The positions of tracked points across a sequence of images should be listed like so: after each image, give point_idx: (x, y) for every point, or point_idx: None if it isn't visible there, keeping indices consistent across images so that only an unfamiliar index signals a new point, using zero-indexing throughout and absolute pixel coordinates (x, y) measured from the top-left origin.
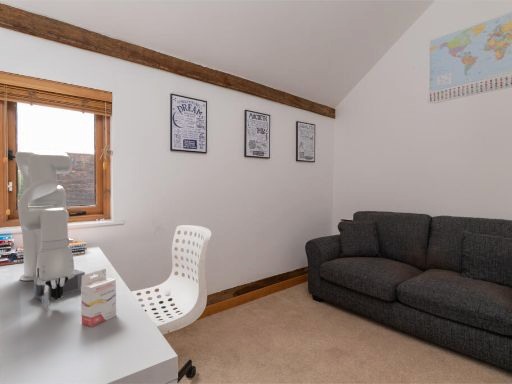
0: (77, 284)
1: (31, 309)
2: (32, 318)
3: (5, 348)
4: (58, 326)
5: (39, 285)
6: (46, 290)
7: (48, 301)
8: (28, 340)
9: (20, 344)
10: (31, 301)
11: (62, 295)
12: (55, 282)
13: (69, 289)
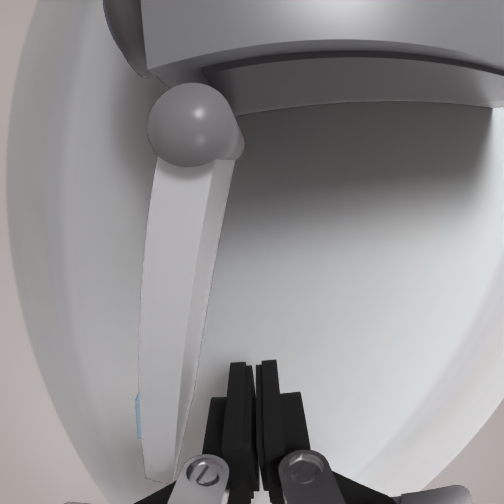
0: (496, 100)
1: (110, 233)
2: (123, 385)
3: (96, 483)
4: None
5: (131, 13)
6: (160, 448)
7: (191, 387)
8: (138, 493)
9: (124, 493)
10: None
11: (357, 101)
12: (348, 62)
13: (428, 98)
